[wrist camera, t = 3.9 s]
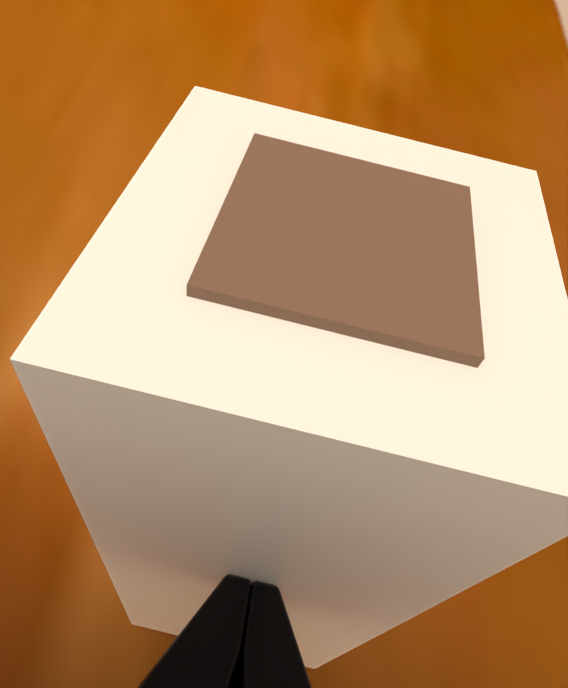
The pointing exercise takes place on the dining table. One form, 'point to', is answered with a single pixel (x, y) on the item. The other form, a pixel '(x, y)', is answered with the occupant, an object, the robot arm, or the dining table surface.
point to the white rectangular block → (309, 372)
